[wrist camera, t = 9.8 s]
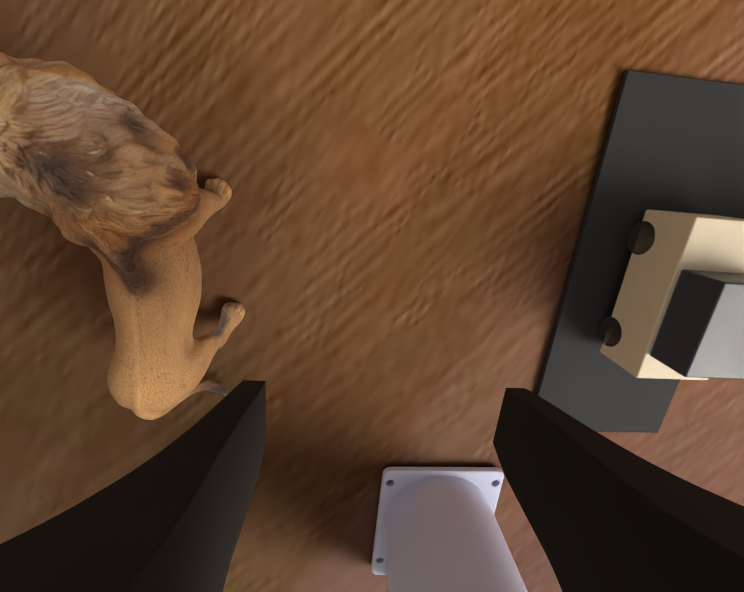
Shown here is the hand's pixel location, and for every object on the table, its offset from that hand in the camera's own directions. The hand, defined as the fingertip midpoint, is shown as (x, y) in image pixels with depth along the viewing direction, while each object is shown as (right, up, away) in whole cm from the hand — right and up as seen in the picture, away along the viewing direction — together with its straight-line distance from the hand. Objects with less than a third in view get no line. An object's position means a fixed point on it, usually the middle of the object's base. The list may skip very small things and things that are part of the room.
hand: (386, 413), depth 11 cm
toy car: (+15, +4, +9) cm, 18 cm away
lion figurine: (-10, +6, +7) cm, 13 cm away
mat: (+15, +4, +10) cm, 18 cm away
